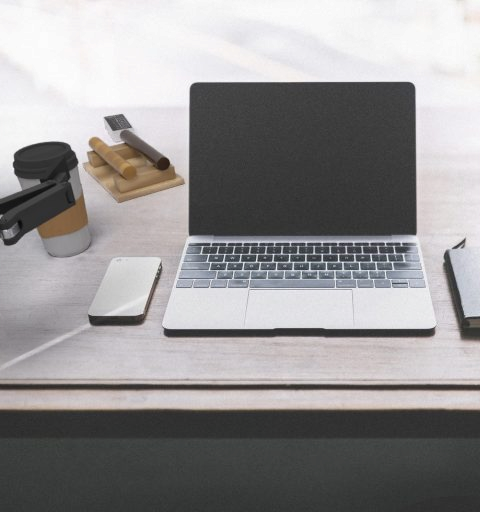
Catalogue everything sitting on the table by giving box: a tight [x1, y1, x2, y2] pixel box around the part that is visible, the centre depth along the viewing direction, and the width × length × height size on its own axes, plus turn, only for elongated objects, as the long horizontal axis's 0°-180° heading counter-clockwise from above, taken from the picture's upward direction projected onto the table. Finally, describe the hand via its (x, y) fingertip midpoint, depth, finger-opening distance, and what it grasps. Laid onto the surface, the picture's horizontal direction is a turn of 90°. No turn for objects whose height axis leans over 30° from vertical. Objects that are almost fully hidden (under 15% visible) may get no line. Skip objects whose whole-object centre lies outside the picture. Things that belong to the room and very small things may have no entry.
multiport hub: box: [102, 113, 136, 143], centre depth 132 cm, size 4×11×2 cm, turn 27°
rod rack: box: [82, 129, 185, 204], centre depth 112 cm, size 19×12×6 cm, turn 35°
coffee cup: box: [12, 140, 92, 258], centre depth 87 cm, size 8×8×15 cm
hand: (6, 169), depth 72 cm, fingers open, 13 cm apart
